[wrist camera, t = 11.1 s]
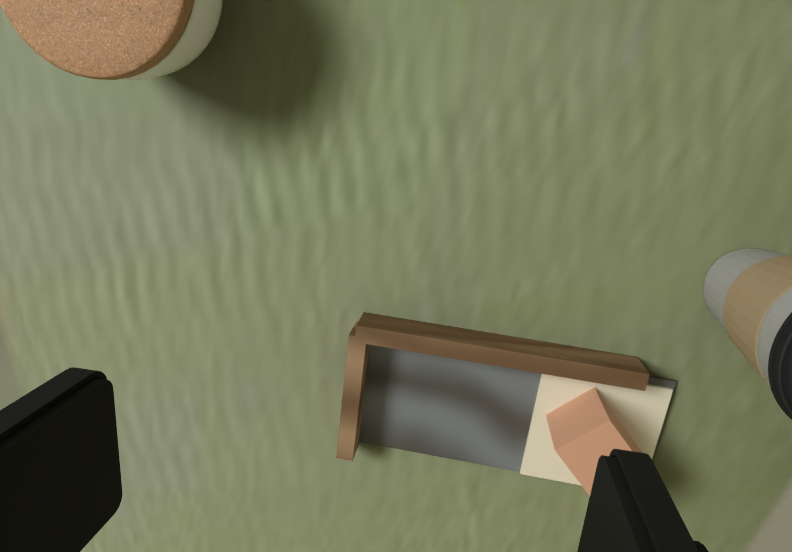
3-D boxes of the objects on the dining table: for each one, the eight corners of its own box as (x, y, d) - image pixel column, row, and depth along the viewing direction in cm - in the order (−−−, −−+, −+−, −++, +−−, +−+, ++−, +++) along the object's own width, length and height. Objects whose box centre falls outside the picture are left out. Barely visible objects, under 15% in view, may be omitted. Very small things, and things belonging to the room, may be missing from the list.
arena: (357, 311, 44) (350, 324, 41) (679, 364, 42) (695, 381, 39) (344, 437, 48) (336, 457, 45) (640, 493, 45) (652, 518, 42)
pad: (543, 366, 43) (543, 368, 43) (671, 388, 42) (673, 389, 42) (519, 471, 46) (520, 473, 46) (639, 494, 45) (640, 496, 45)
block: (545, 414, 44) (554, 450, 39) (594, 387, 42) (609, 420, 38) (593, 477, 45) (607, 519, 40) (642, 451, 43) (663, 492, 39)
